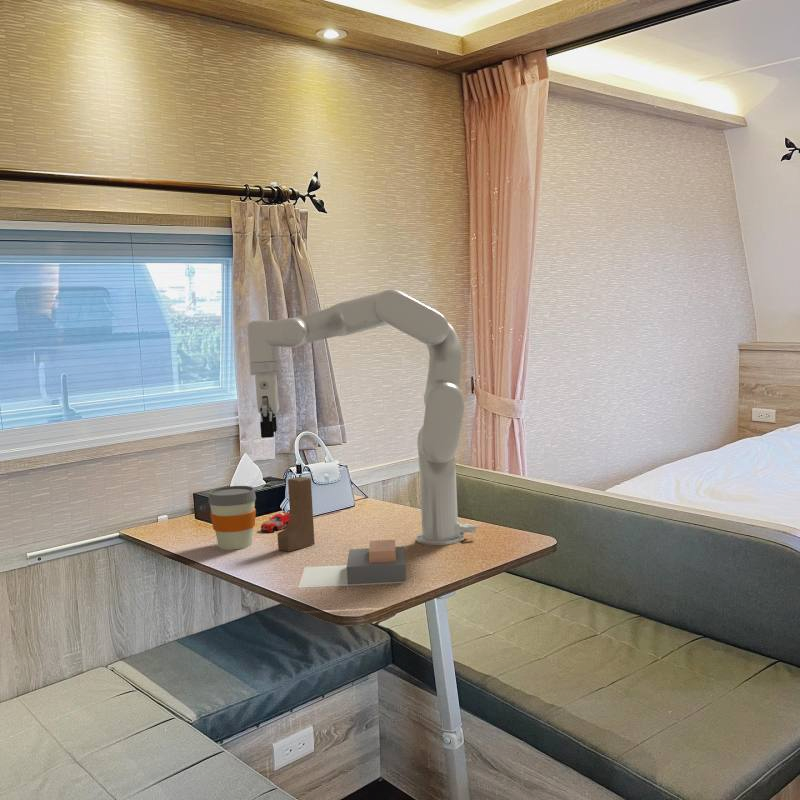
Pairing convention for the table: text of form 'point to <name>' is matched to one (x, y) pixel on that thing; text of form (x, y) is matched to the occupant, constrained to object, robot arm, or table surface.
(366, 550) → the grey flat block
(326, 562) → the table surface
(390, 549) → the tile
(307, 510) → the wooden block
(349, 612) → the table surface
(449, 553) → the table surface
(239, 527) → the reusable coffee cup
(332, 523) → the table surface
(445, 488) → the robot arm
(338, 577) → the mat
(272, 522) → the race car
